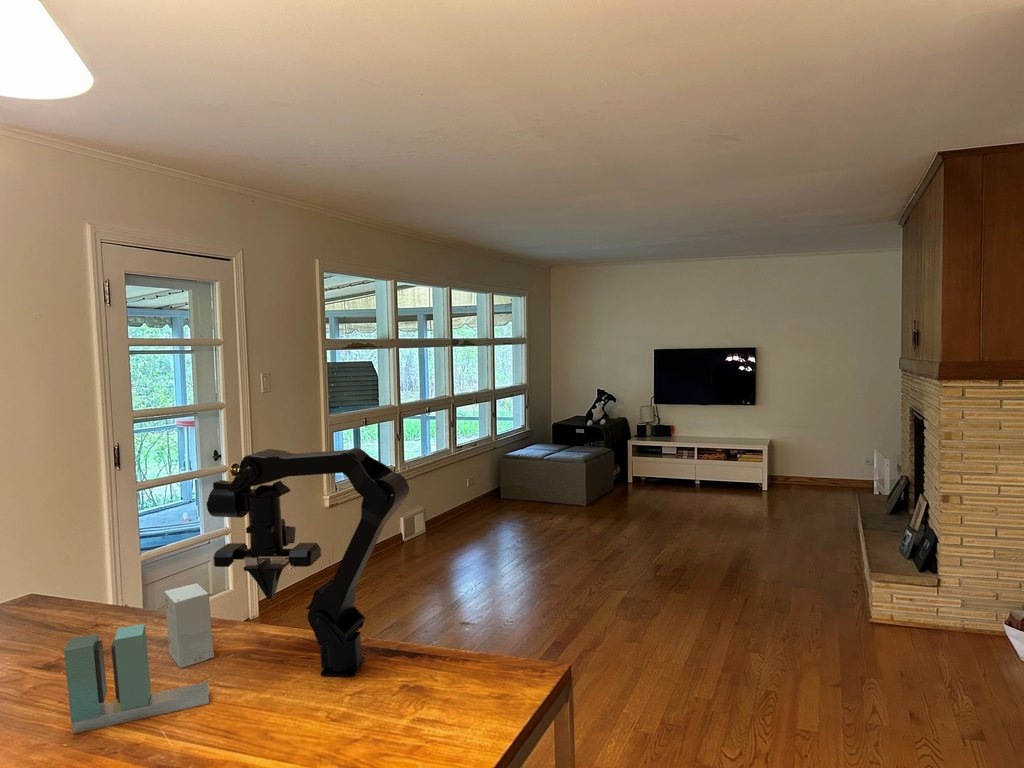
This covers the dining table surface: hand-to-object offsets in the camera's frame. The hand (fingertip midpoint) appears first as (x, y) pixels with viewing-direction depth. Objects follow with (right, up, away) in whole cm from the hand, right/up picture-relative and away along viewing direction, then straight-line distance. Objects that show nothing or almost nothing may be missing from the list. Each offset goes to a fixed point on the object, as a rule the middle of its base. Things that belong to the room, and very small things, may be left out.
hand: (270, 598), depth 132 cm
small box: (-17, -13, +5) cm, 22 cm away
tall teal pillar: (-18, -12, -15) cm, 26 cm away
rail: (-16, -15, -15) cm, 26 cm away
